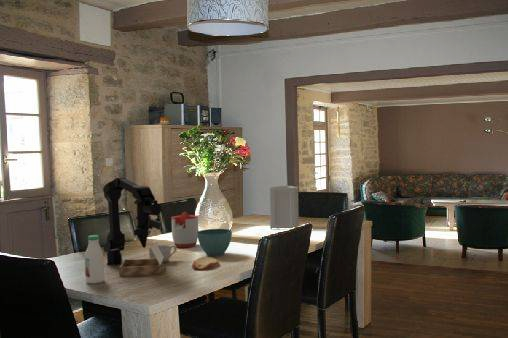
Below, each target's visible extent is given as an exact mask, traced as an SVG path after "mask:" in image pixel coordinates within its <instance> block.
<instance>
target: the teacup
mask: <svg viewBox="0 0 508 338" xmlns="http://www.w3.org/2000/svg"><path fill="white" fill-rule="evenodd" d="M157 246H158V247H159V249H160V251H161V253H162V255H163V257H164V258H163V263H166V262H168V261H169V260H170V258H171V257H172V256H173V255H174V254H175V253H176V252H177V247H176V246H175V244H174V245H173V244H172V245H171V244H159V245H158V244H157ZM172 248H173V249H174V250H173V251H171V250H172ZM148 255H149V256H148V257H149V259H156V257H155V255H154V253H153V251H152V249H151V246H149V247H148Z"/></svg>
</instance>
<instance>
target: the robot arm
mask: <svg viewBox="0 0 508 338" xmlns="http://www.w3.org/2000/svg"><path fill="white" fill-rule="evenodd" d="M123 190H125V191H127V192H128V193H131V196H132V197H133V198H134V199H135V200H134V202H133V203H134V205H136V217H135V219H136V224H137V225H136V228H135V229H134V231H133V234H134V236H137V238H138V240H139V242H140V244H141V247H142V248H144V249H145V248H146V247H147V242H148V241H147V240H148V236H149V235H151V234H150V233H151V232H152V231H151V230H153V229H156V230H161V228H162V225H163V221H162V220H161V218H159V217H157V218H154V219H153V218H152V217H151V216H159V215H160V214H161V213H162V207H161V205H160V203H158V199H157V200H156V199H155V198H156V197H155V196H154V193H153V192H152V190H151V187H149V186H148V185H140V184H136V183H135V182H132V181H131V180H129V179H127V178H126V177H124V176H120V177H115V178H114V179H113V180H112V181H110V182H107V183H106V184H105V185H104V187H103V188H102V191H103V196H104V199H105V200H106V201H107V205H108V206H107V207H108V220H109V222H108V223H109V233H108V234H107V237H106V242H105V244H104V246H103V248H102V249H103V253H106V255H107V257H106V258H107V259H106V261H107V263H106V265H108V266H109V265H121V264H122V263H123V253H122V251H124V250H125V245H126V234H125V233H123V232H122V230H121V222H120V221H121V220H120V209H119V208H120V206H119V205H120V204H119V201H120V199H121V198H122V191H123Z"/></svg>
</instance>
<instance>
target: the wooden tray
mask: <svg viewBox="0 0 508 338" xmlns="http://www.w3.org/2000/svg"><path fill="white" fill-rule="evenodd" d="M163 268H164V262H163V260H162V262H161V265H160V264H159V262H158V261H157V259H150V258H137V259H136V258H134V259H133V258H132V259H131V258H130V259H123V261H122V262H121V264H120V265H119V268H118V271H119V277H129V276H130V277H132V276H134V277H135V276H136V277H137V276H157V275H158V276H159V275H161V273H162V271H163Z"/></svg>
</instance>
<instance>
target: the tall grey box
mask: <svg viewBox="0 0 508 338" xmlns="http://www.w3.org/2000/svg"><path fill="white" fill-rule="evenodd" d="M268 190H269V194H268V195H269V228H271V229H270V230H273V229H272V228H293V227H297V226H299V225H300V223H299V218H300V217H299V187H298V186H293V185H281V186H270V187H269V188H268Z"/></svg>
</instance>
